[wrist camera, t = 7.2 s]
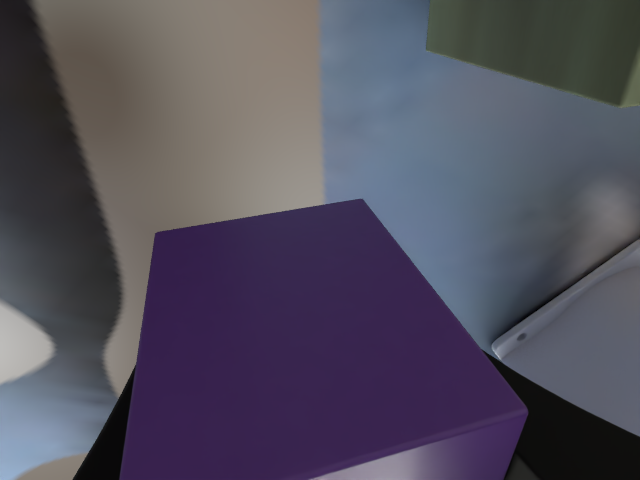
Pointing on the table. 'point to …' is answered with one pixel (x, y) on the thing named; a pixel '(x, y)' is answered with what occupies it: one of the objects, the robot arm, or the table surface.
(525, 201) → the table surface
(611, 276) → the robot arm
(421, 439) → the purple box
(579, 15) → the drawer
